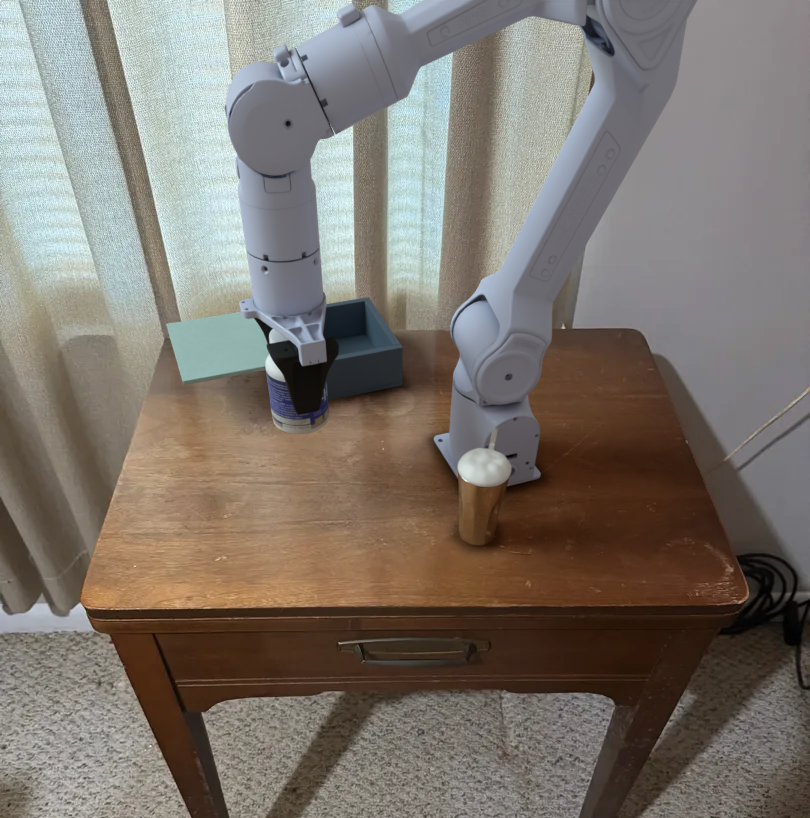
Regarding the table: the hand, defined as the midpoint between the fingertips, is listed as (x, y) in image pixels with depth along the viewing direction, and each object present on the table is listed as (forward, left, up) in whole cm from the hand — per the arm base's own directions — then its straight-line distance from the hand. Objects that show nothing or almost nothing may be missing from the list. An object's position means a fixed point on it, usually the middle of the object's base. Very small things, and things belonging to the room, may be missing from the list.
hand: (298, 392), depth 68 cm
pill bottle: (0, 0, -3) cm, 3 cm away
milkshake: (-13, -13, -10) cm, 21 cm away
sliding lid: (+17, +3, -5) cm, 18 cm away
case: (+18, -8, -10) cm, 22 cm away
